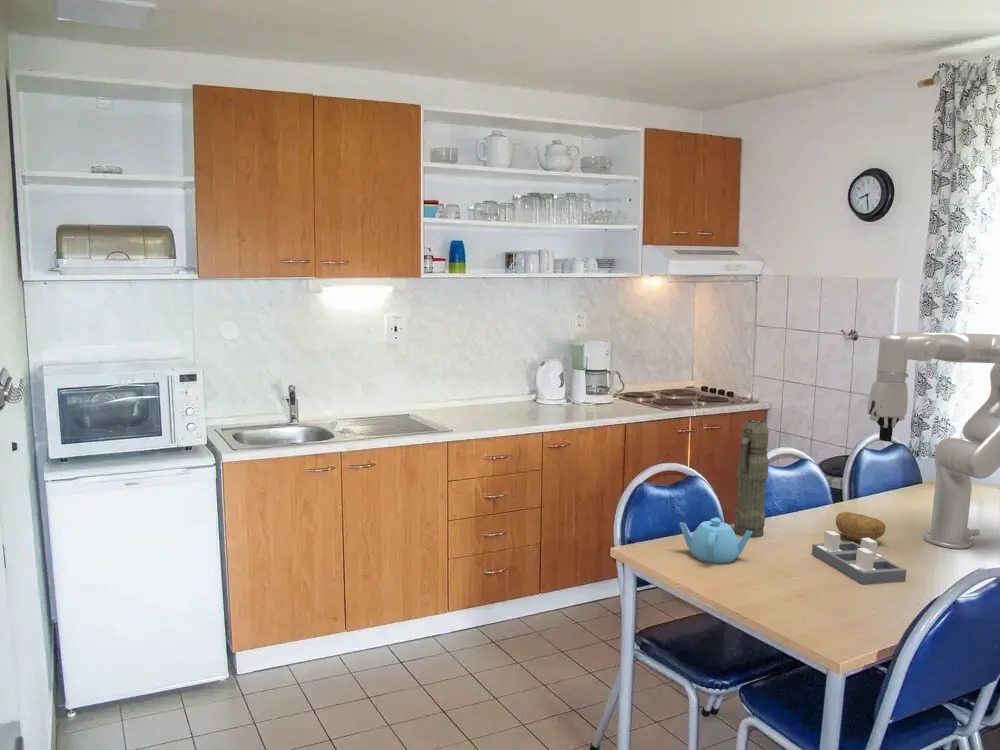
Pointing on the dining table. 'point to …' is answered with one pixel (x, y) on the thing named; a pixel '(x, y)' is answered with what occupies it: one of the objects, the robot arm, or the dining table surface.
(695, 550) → the teapot
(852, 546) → the switch bank
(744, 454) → the thermos
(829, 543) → the tab
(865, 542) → the tab
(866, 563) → the tab
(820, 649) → the dining table surface
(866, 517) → the potato
